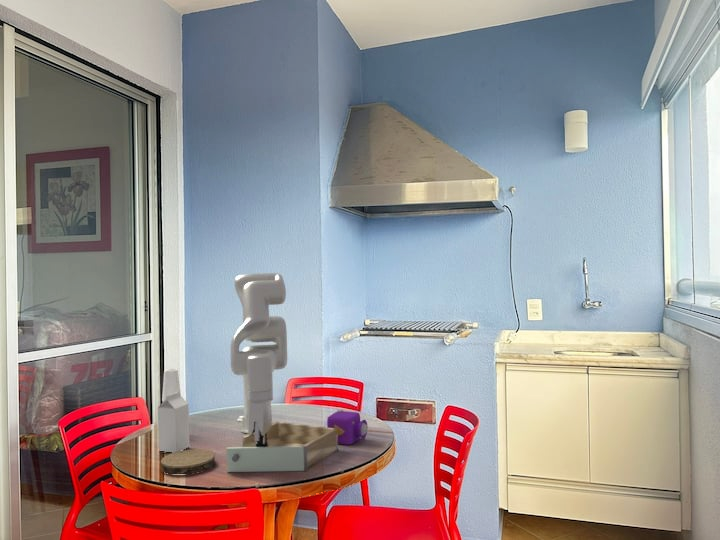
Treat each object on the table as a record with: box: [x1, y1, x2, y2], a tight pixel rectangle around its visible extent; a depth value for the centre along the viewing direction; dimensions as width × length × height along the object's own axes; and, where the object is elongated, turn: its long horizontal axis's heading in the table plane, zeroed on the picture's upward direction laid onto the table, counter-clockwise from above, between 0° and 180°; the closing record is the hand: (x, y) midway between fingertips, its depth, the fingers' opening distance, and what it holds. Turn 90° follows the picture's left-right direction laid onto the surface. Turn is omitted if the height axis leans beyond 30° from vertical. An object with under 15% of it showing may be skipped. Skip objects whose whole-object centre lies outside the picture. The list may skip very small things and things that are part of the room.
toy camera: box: [326, 409, 368, 446], centre depth 191 cm, size 11×14×10 cm
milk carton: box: [157, 391, 190, 453], centre depth 187 cm, size 7×7×19 cm
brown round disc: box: [160, 448, 216, 475], centre depth 171 cm, size 16×16×3 cm
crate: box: [242, 421, 339, 470], centre depth 179 cm, size 24×19×7 cm
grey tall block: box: [161, 368, 182, 403], centre depth 205 cm, size 7×7×24 cm
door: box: [226, 446, 308, 473], centre depth 164 cm, size 24×2×7 cm, turn 88°
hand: (262, 455), depth 168 cm, fingers closed
